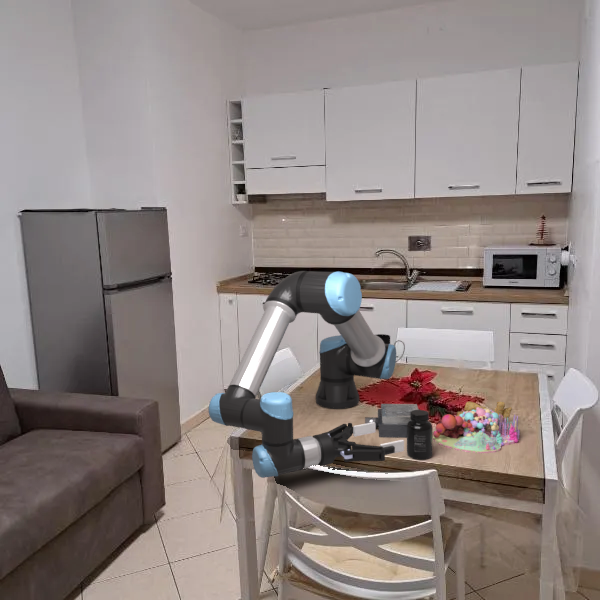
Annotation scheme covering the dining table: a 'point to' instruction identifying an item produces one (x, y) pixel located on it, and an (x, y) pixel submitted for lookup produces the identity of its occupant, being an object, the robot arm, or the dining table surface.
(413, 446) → the supplement bottle
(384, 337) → the glass holder
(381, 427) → the block
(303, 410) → the dining table surface
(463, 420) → the candy landscape model
